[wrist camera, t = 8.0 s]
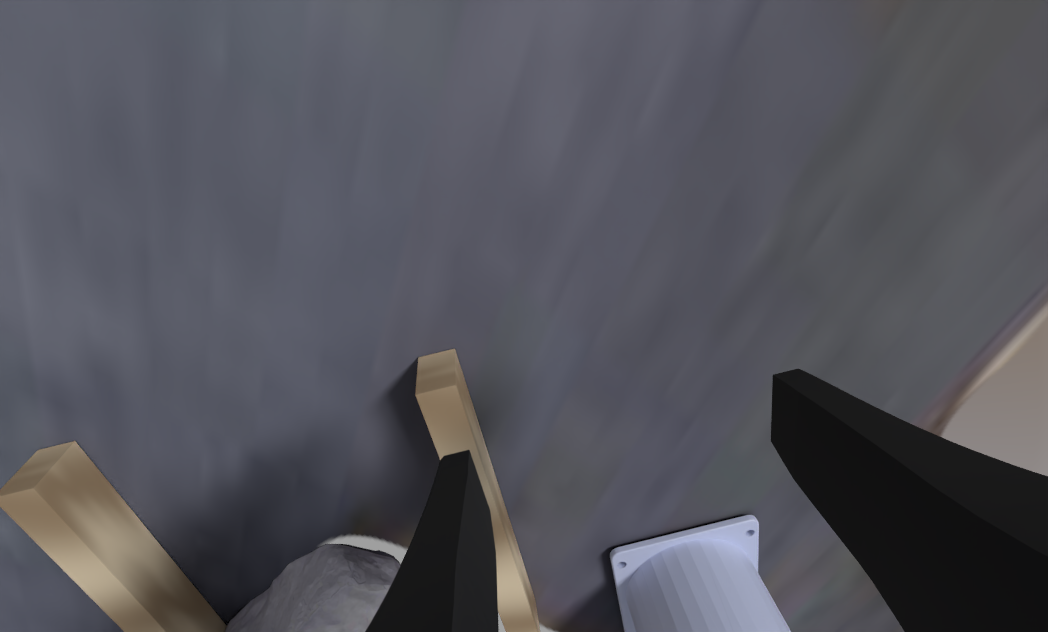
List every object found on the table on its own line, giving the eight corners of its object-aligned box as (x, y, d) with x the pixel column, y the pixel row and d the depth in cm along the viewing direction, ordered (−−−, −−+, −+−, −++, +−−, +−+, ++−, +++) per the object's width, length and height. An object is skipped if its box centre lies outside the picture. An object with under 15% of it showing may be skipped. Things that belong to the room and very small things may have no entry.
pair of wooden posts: (535, 600, 30) (542, 645, 28) (235, 675, 30) (218, 726, 28) (454, 348, 22) (456, 385, 20) (37, 450, 22) (-8, 498, 19)
